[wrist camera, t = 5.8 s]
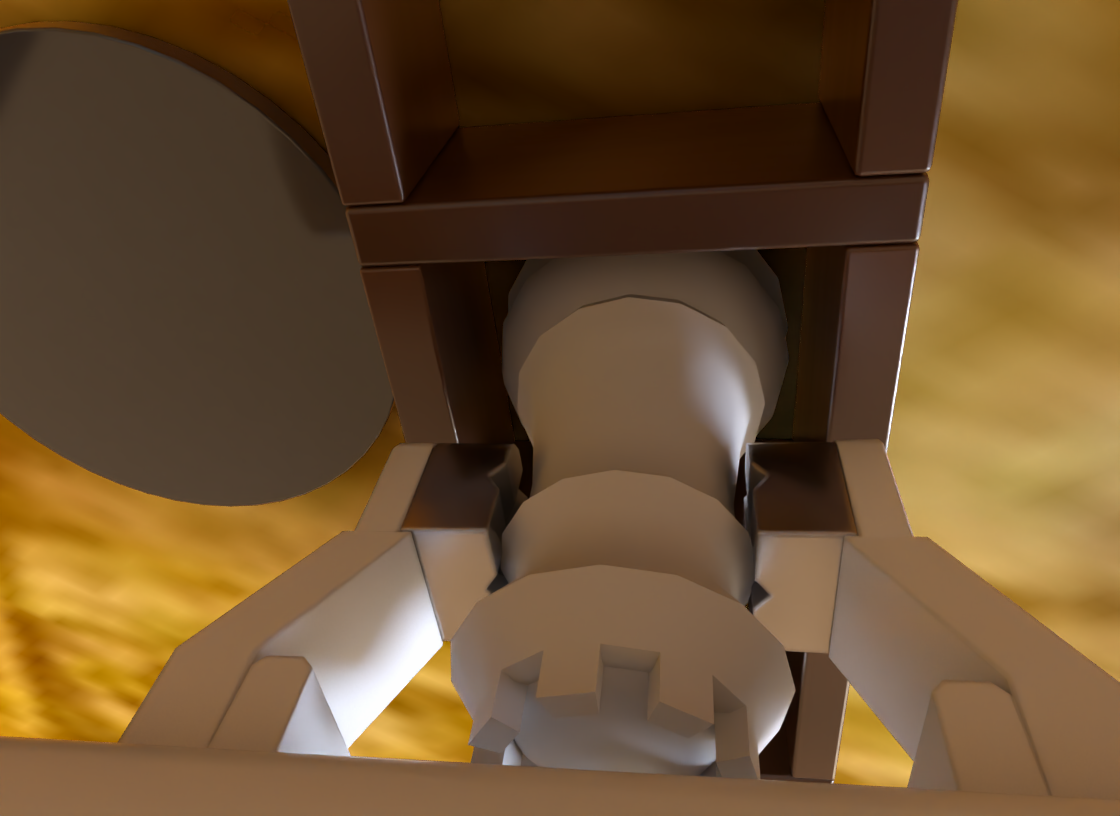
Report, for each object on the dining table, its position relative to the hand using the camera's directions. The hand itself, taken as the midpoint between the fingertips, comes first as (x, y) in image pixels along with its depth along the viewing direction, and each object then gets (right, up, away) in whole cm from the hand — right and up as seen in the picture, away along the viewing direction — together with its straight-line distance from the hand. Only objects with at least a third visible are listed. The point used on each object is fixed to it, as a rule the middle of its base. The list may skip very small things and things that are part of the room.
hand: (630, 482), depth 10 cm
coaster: (-8, +3, +4) cm, 9 cm away
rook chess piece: (0, +2, +3) cm, 4 cm away
